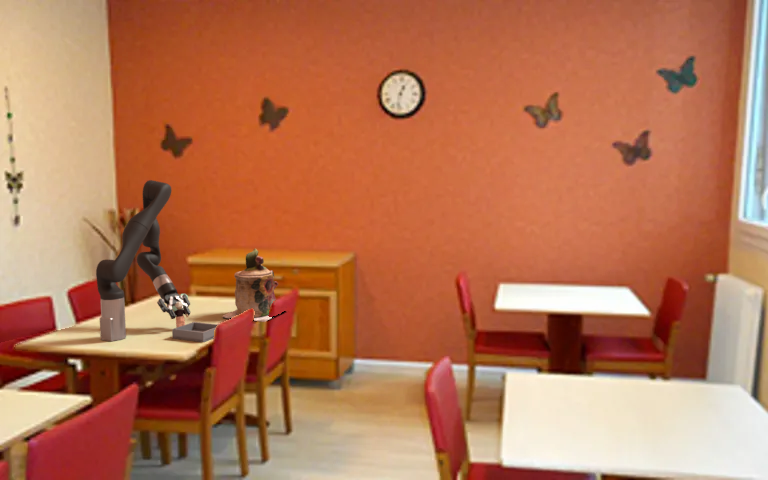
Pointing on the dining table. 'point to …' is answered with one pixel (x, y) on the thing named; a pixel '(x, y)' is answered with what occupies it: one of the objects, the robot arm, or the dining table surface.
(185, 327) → the tray
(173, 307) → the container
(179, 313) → the grandmother figurine
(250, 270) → the cookie jar
